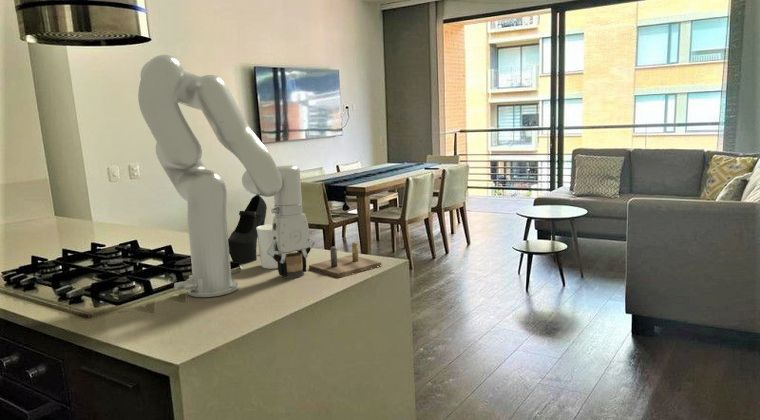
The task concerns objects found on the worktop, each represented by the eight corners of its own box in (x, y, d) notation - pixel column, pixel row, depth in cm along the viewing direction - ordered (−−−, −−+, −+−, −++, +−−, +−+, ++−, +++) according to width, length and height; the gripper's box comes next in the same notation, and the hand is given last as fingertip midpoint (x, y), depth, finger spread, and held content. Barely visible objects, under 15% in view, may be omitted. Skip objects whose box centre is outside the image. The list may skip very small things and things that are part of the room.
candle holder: (284, 269, 161) (282, 229, 159) (253, 269, 163) (250, 229, 161) (296, 261, 171) (294, 223, 169) (266, 261, 173) (264, 223, 171)
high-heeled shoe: (222, 265, 169) (216, 201, 166) (257, 251, 186) (253, 193, 183) (243, 267, 166) (238, 202, 163) (277, 253, 183) (273, 193, 180)
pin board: (338, 277, 151) (337, 252, 150) (309, 269, 161) (307, 245, 160) (381, 266, 161) (380, 242, 160) (351, 258, 171) (350, 236, 170)
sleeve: (290, 279, 151) (288, 258, 150) (278, 275, 155) (277, 255, 154) (306, 275, 155) (305, 254, 154) (295, 271, 159) (294, 251, 158)
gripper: (268, 216, 143) (273, 282, 146) (321, 207, 155) (325, 269, 158) (254, 213, 149) (259, 277, 152) (306, 205, 160) (310, 265, 163)
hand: (292, 272), depth 155 cm, fingers closed on sleeve, 5 cm apart
